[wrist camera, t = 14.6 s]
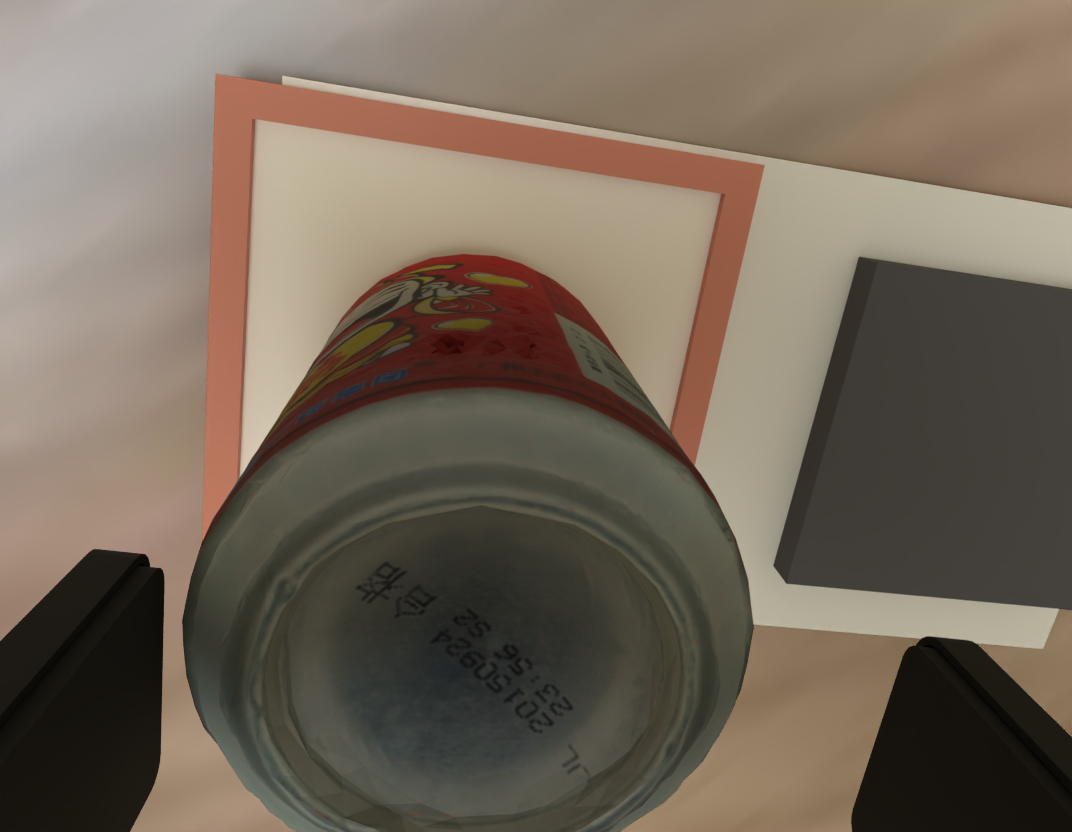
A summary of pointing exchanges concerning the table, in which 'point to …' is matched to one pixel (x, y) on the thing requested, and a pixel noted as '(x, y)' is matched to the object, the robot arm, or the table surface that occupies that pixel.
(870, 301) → the ink pad
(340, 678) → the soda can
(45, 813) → the robot arm
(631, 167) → the red bordered square panel
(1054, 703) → the table surface
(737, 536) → the board
